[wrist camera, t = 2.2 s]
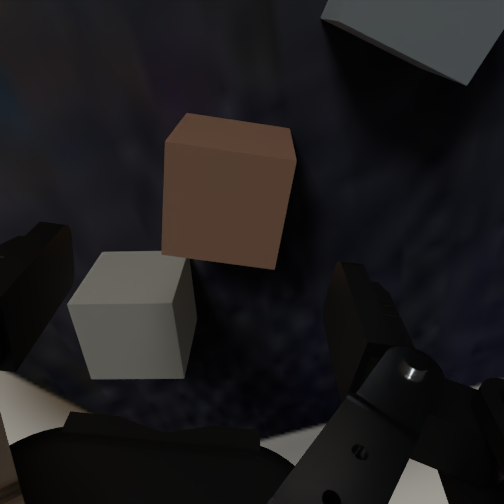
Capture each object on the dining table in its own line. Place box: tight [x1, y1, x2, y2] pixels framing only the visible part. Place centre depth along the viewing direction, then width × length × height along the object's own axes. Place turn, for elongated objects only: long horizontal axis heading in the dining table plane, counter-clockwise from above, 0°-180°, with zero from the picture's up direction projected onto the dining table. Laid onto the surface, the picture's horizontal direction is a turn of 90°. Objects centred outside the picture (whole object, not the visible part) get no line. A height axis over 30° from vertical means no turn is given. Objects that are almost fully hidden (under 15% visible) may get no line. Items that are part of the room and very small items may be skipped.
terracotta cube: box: [161, 113, 297, 270], centre depth 19 cm, size 5×5×5 cm
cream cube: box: [67, 251, 197, 379], centre depth 23 cm, size 5×5×5 cm
